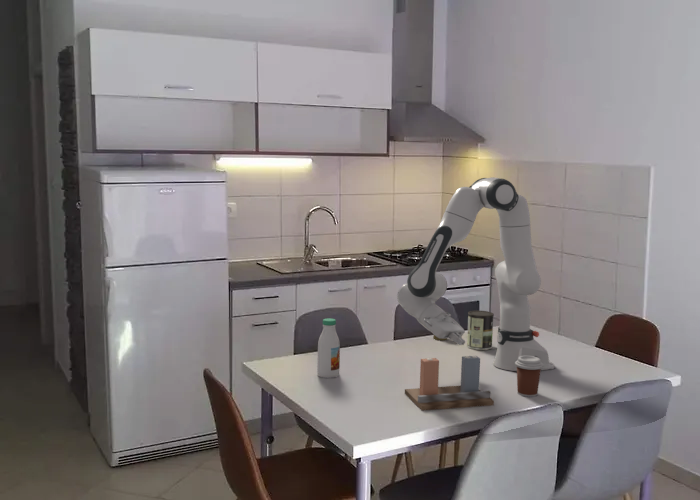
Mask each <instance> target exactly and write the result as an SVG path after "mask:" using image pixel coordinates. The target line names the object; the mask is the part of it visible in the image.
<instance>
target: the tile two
mask: <svg viewBox="0 0 700 500" xmlns="http://www.w3.org/2000/svg"><path fill="white" fill-rule="evenodd" d="M460 366H461V368H460V369H461V371H460V385H461V390H460V393H462V392H476V391H479V390H480V374H481V373H480V372H481V371H480V369H481V358H480V357H479V356H478V355H469V356H468V355H466V356H461V365H460Z"/></svg>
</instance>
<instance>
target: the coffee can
mask: <svg viewBox="0 0 700 500" xmlns="http://www.w3.org/2000/svg"><path fill="white" fill-rule="evenodd" d="M467 315H468V317H467V336H466V338H467V341H466V343H467V344H466V347H467V348H468V349H471V350H477V351H488V350H491V349H493V333H494V332H493V331H494V313H493V312H491V311H487V310H470V311H468V312H467Z"/></svg>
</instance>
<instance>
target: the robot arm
mask: <svg viewBox="0 0 700 500" xmlns="http://www.w3.org/2000/svg"><path fill="white" fill-rule="evenodd" d="M483 208H485V209H490V210H491V209H492V210H493V209H496V211H497V213H498V217H499V218H498V219H499V220H498V224H499V225H498V227H499V246H500V249H501V251H502V254H503V258H504V260H503V261H500V262H499V263H497V266H496V267H495V269H494V276H495V277H494V278H495V279H496V282H497V284H496V285H497V291H498V300H499V326H498V327H497V329H498V330H497V347H496V353H495V357H494V360H493V362H492V365H493V366H494V367H496V368H498V369H501V370H506V371H512V372H513V371H514V372H517V366H515V362H516V361H517V360H518V358H519V357H520V356H534V357H538V358H539V359H540V362H541V363H542V364H543V368H542V369H541V371H547V370H554V369H555V366H556V365H555V364H554V362H553V361H550V359H549V353H548V351H547V349H546V348H545V347H544V346H543V345H542V344H541V343H539V342H538V341H537V340H536V339H535V338H538V337H539V336H540V332H539V331H537V330H533V329H531V313H532V310H531V309H532V307H531V306H530V303H529V298H528V296H530V295H534V294H535V293H537V292H538V291H539V290H540V287H541V285H542V278H541V275H540V273H539V271H538V269H537V265H536V260H535V255H534V252H533V245H532V232H531V228H532V227H531V217H530V215H531V214H530V209H529V205H528V201H527V199H526V197H525V196H523V195H522V194H518V192H517V190H516V187H515V185H514V184H513V183H512V182H511V181H509V180H508V179H506V178H500V177H491V176H490V177H482V178H479V179H477V180H475V181H473V183H472V184H471V185H470V186H461V187H459V188H457V189H456V191H455V192H454V193H453V195H452V197H451V198H450V199H449V202H448V204H447V205H446V207H445V211H444V213H443V215H442V218H441V220H440V221H439V224H438V226H437V228H436V229H435V231H434V233H433V235H432V237H431V239H430V240H429V242H428V245H427V247H426V249H425V251H424V253H423V254H422V257H421V259H420V261H419V262H418V263H417V265H416V266H415V267H414V268H413V269H412V271H410V273H409V275H408V276H407V281H406V283H404V284H403V285H402V286H401V287H400V288H399V289H398V292H397V295H396V300H397V303H398V304H399V305H400V306H401V308H402V309H403V310H404V311H405V312H406V313H407V314H408V315H410V316H412V317H413V318H415V319H416V320H417V322H418V323H419V324H420V325H422V326H423V327H424V328H425V329H426V330H427V331H428V332H431V333H432V334H433V336H434V335H435V336H436V337H438V338H447V339H449V340H450V341H453V342H455V343H456V344H457V345H459V346H464V344H465V343H466V340H465V339H464V338H463V337H462V336H464V334H465V332H466V331H465V329H464V328H463V326H461V325H460V324H459V323H458V321H456V320H455V319H454V318H453V317H451V316H452V314H451V313H449V312H447V311H446V310H444V309H443V308H441V307H440V306H438V305H437V304H436V302H438V301H439V300H440V299H441V298H442V297H443V296H444V295H445V293H446V292H447V290H448V281H447V279H446V277H445V276H444V275H443V274H441V273H439V272H437V269H438V267H439V265H440V264H441V261H442V260H443V257H444V255H445V253H446V252H447V250H448V249H449V248H450V247H451V246H453V245H455V244H457V243H460V242H462V241H464V240H465V239H467V237H468V235H469V234H470V233H471V231H472V229H473V226H474V224H475V221H476V218H477V215H478V214H479V213H480V211H481V210H482V209H483ZM534 337H535V338H534Z"/></svg>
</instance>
